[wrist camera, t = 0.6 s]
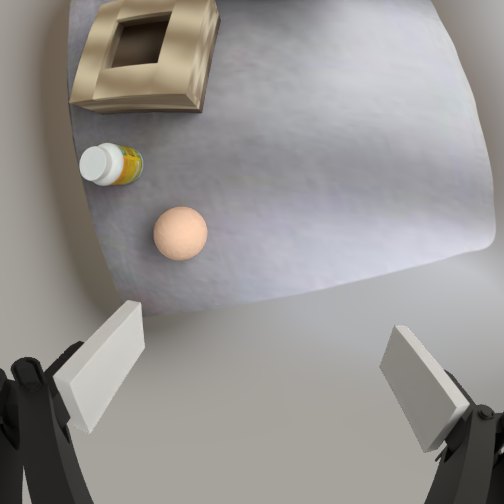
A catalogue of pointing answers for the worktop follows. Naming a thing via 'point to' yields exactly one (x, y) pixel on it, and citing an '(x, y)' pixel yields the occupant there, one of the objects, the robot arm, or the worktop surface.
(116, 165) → the supplement bottle
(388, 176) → the worktop surface
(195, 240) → the egg
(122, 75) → the drop box
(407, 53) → the worktop surface
